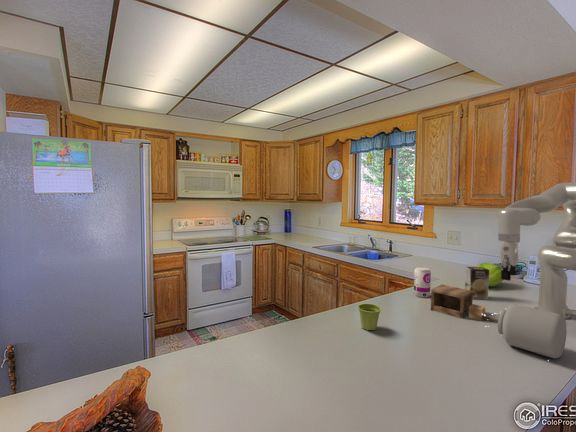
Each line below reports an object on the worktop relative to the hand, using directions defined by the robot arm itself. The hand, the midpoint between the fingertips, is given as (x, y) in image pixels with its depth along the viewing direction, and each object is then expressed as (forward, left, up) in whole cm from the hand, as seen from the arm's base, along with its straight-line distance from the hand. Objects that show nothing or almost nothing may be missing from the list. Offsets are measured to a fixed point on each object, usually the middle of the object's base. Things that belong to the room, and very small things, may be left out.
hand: (508, 277), depth 133 cm
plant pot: (+36, +51, -19) cm, 65 cm away
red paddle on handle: (+4, +6, -19) cm, 20 cm away
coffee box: (+19, -24, -19) cm, 37 cm away
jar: (-9, +26, -19) cm, 33 cm away
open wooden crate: (+21, +6, -19) cm, 29 cm away
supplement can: (+40, -6, -19) cm, 45 cm away
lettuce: (+21, -52, -19) cm, 60 cm away
